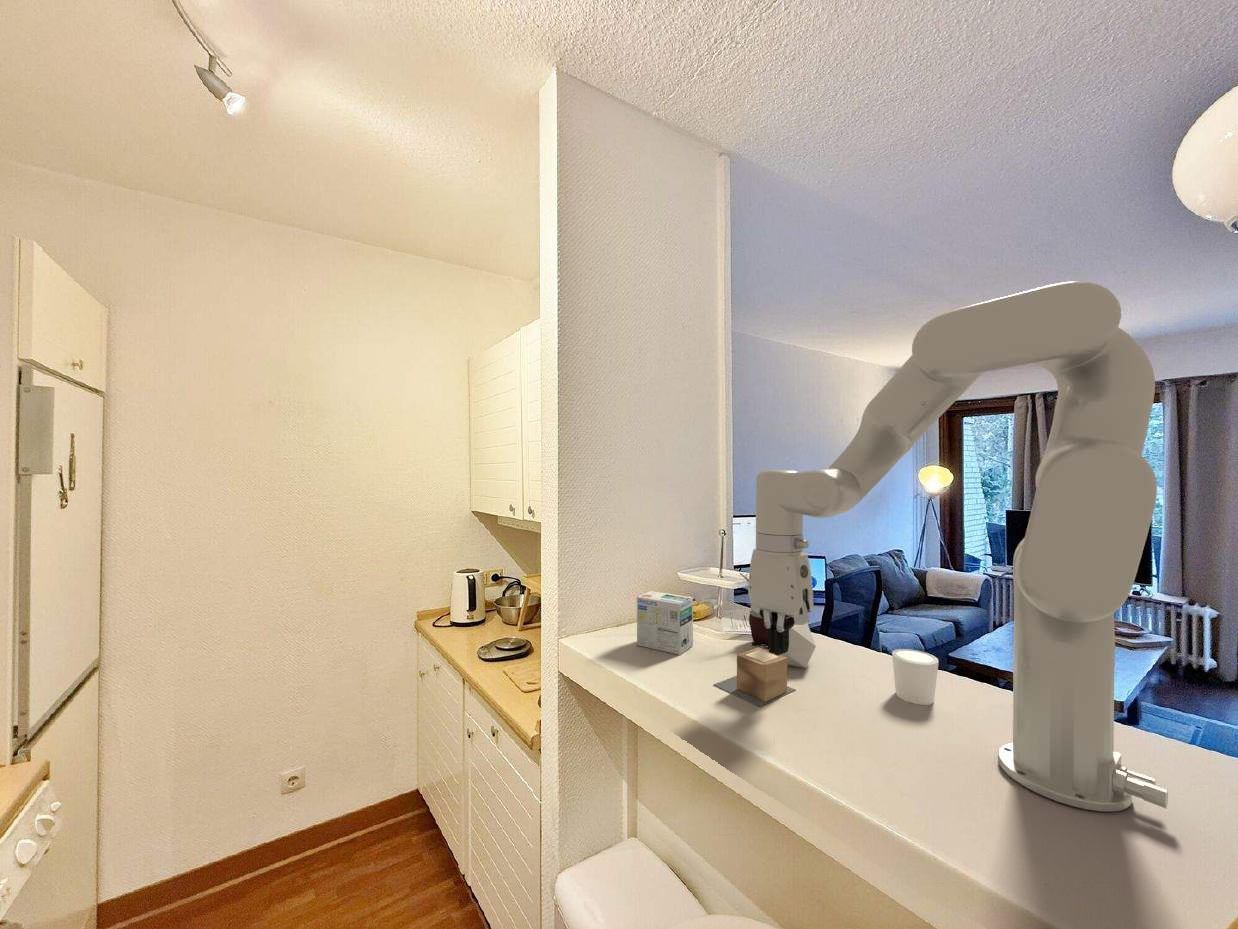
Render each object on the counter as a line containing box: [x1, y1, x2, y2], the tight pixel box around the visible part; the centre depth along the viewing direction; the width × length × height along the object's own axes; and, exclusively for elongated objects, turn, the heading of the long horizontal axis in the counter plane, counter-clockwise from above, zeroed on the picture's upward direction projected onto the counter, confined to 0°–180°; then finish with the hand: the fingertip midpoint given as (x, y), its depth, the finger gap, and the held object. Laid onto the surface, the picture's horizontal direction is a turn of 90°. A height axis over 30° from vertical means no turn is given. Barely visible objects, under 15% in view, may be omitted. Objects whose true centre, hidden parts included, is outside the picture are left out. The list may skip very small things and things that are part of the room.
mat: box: [713, 675, 796, 708], centre depth 89 cm, size 10×10×1 cm
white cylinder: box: [891, 648, 939, 706], centre depth 86 cm, size 7×7×7 cm
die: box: [781, 623, 817, 669], centre depth 100 cm, size 8×9×10 cm
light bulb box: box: [636, 590, 694, 656], centre depth 109 cm, size 11×7×11 cm, turn 58°
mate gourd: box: [739, 572, 769, 648], centre depth 111 cm, size 8×8×15 cm
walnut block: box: [736, 646, 788, 702], centre depth 88 cm, size 6×6×6 cm
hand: (778, 652), depth 85 cm, fingers closed
